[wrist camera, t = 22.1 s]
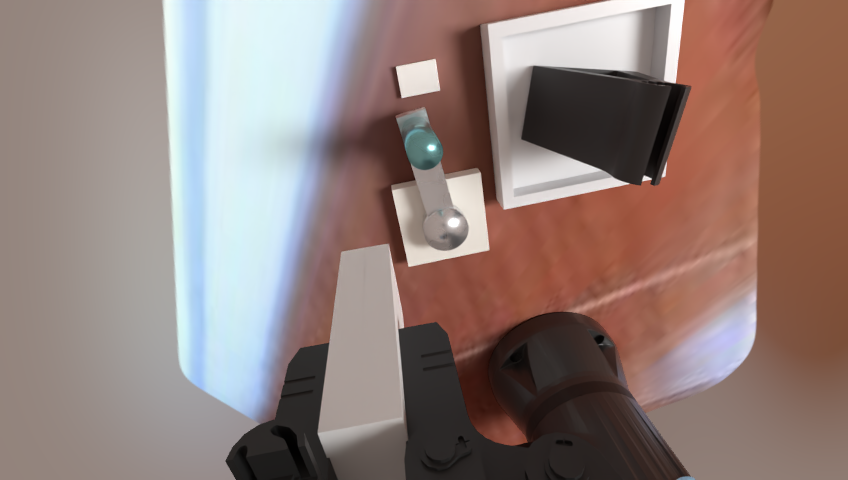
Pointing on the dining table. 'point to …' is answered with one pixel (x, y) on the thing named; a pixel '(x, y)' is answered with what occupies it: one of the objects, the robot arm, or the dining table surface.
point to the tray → (576, 48)
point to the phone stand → (605, 118)
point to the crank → (432, 182)
